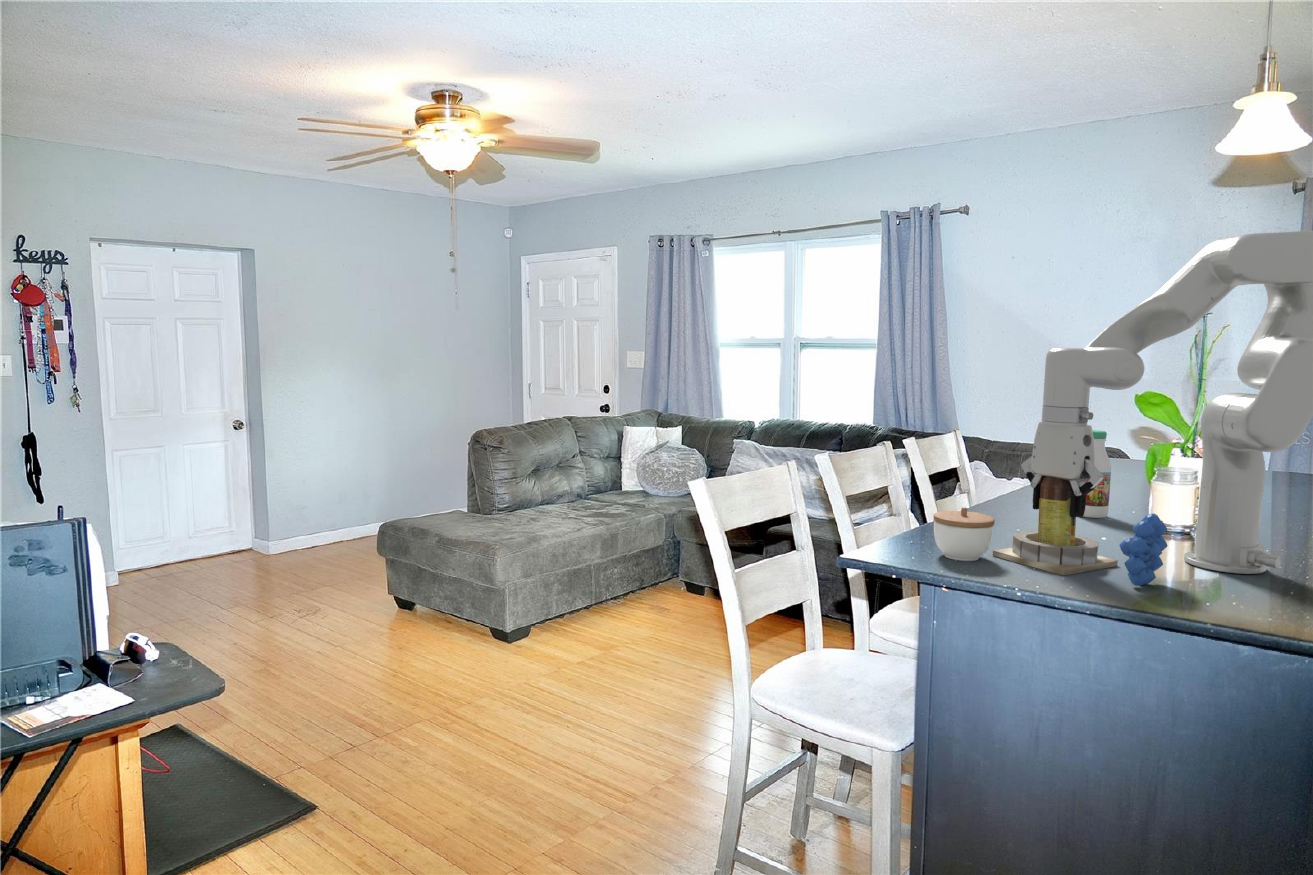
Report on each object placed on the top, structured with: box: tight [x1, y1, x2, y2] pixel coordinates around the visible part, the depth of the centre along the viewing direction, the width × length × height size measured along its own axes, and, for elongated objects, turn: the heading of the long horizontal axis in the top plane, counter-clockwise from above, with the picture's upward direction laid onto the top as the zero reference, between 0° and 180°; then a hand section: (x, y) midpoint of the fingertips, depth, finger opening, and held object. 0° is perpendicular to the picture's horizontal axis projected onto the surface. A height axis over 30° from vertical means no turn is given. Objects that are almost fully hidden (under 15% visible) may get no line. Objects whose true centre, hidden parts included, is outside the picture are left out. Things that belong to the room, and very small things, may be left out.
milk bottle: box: [1081, 429, 1112, 519], centre depth 199 cm, size 8×8×20 cm
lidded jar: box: [933, 506, 996, 562], centre depth 159 cm, size 11×11×9 cm
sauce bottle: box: [1037, 476, 1077, 546], centre depth 157 cm, size 6×6×20 cm
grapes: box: [1119, 513, 1168, 587], centre depth 143 cm, size 12×7×12 cm, turn 130°
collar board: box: [992, 530, 1119, 577], centre depth 158 cm, size 15×15×4 cm
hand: (1057, 511), depth 157 cm, fingers open, 7 cm apart
